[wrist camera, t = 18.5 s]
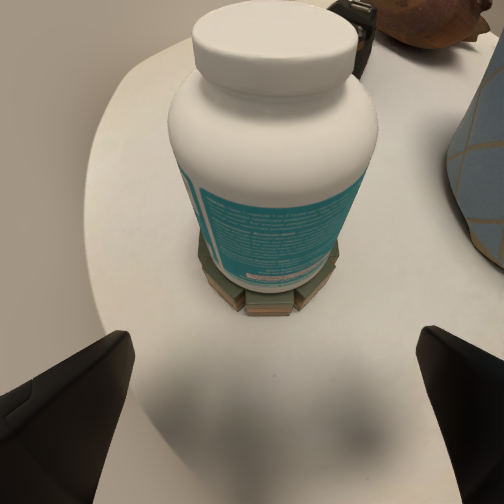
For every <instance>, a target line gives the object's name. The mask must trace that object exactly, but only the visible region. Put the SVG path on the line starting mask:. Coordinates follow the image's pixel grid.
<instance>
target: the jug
mask: <svg viewBox="0 0 504 504" xmlns="http://www.w3.org/2000/svg"><path fill="white" fill-rule="evenodd" d="M366 1H369V2H371V3H372V4H373V5H374V6H375V7H376V8H377V9H378V10H377V20H376V27H377V28H378V29H379V30H381V31H382V32H384V33H385V34H387V35H389V36H391V37H393V38H395V39H397V40H399V41H401V42H403V43H405V44H408V45H411V46H414V47H418V48H423V49H439V48H443V47H447V46H450V45H453V44H456V43H458V42H460V41H465V42H476V41H477V37H478V35H479V34H483V33H487V32H489V31H490V27H489V25H488V23H487V22H486V21H485V19H484V18H483V17H482V16H480V13H481V12H483V11H487V10H489V9H490V8H491V6H492V0H366Z"/></svg>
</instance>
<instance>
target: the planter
mask: <svg viewBox="0 0 504 504" xmlns="http://www.w3.org/2000/svg"><path fill="white" fill-rule="evenodd" d="M447 172H448V177H449V181H450V185H451V188H452V191H453V193H454V196H455V198H456V201H457V203H458V205H459V207H460V209H461V211H462V213H463V215H464V217H465V219H466V221H467V224H468V226H469V229H470V235H471V240H472V243H473V244H474V245H475V247H476V248H477V249H478V250H479V251H481V252H482V253H483V254H484V255H485V256H486V257H488V258H489V259H490V260H492V261H493V262H495V263H496V264H498V265H499V266H501V267H502V268H504V29H503V31H502V34H501V36H500V38H499V41H498V43H497V46H496V48H495V51H494V53H493V55H492V58H491V60H490V62H489V65H488V67H487V69H486V72H485V74H484V76H483V79H482V81H481V83H480V85H479V87H478V90H477V92H476V94H475V96H474V98H473V100H472V102H471V104H470V106H469V108H468V110H467V112H466V114H465V116H464V118H463V119H462V121H461V123H460V125H459V127H458V129H457V131H456V133H455V135H454V136H453V138H452V141H451V143H450V145H449V148H448V152H447Z"/></svg>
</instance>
